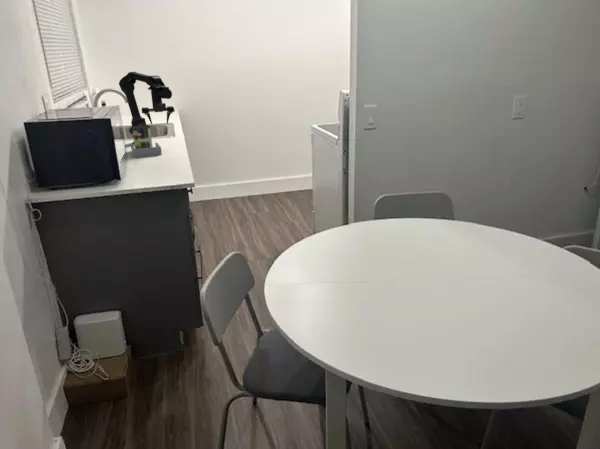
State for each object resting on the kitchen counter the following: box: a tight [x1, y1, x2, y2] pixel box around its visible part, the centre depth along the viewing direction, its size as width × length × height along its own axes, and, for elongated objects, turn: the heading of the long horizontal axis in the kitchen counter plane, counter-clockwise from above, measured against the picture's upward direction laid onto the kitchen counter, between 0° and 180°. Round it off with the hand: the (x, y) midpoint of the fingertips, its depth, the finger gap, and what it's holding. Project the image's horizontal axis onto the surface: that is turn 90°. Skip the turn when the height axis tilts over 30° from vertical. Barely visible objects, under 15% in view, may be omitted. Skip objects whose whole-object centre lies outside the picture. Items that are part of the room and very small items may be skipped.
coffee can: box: [131, 124, 154, 149], centre depth 275 cm, size 10×10×14 cm
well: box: [130, 142, 163, 158], centre depth 267 cm, size 13×15×4 cm
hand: (159, 124), depth 284 cm, fingers open, 9 cm apart
